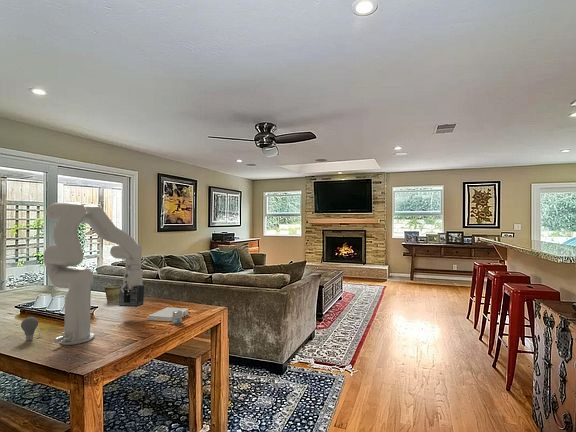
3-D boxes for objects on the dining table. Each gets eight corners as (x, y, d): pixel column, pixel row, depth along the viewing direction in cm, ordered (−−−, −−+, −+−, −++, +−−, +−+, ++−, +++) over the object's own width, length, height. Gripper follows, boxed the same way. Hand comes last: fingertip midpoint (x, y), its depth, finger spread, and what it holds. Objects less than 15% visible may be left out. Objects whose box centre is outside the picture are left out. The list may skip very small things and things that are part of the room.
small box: (144, 304, 176) (145, 284, 176) (137, 307, 169) (138, 286, 170) (125, 303, 177) (126, 284, 177) (118, 306, 170) (119, 286, 171)
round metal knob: (178, 325, 162) (178, 313, 162) (170, 324, 163) (170, 312, 163) (183, 322, 167) (183, 310, 167) (175, 321, 168) (175, 310, 168)
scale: (175, 322, 167) (175, 316, 167) (146, 319, 171) (146, 314, 171) (193, 312, 185) (193, 307, 185) (167, 310, 189) (167, 305, 189)
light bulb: (36, 336, 146) (36, 314, 146) (40, 339, 142) (40, 316, 143) (19, 340, 142) (19, 317, 142) (22, 343, 138) (22, 320, 138)
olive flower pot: (117, 303, 204) (117, 287, 204) (101, 303, 204) (101, 287, 204) (127, 298, 217) (127, 283, 217) (111, 298, 217) (112, 283, 217)
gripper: (127, 269, 165) (126, 305, 164) (149, 266, 182) (148, 298, 181) (115, 268, 167) (113, 304, 165) (138, 265, 183) (136, 297, 182)
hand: (131, 301), depth 173 cm, fingers closed on small box, 6 cm apart
